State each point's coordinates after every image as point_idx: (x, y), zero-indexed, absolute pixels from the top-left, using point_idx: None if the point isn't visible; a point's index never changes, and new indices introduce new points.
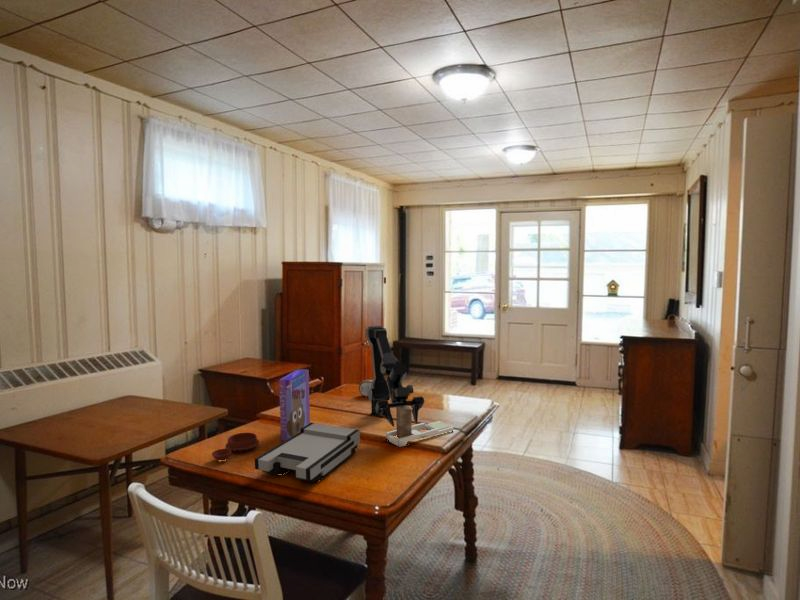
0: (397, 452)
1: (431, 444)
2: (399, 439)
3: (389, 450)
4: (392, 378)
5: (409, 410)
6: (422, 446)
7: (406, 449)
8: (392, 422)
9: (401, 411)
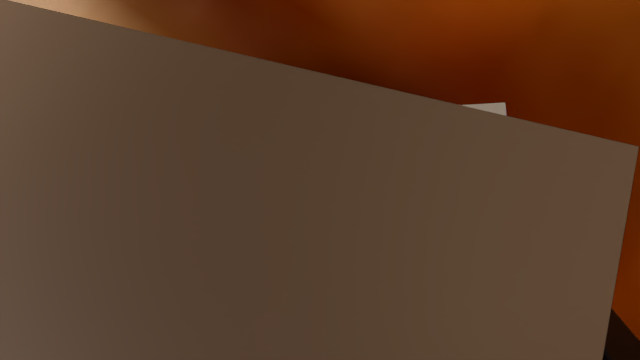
0: (567, 29)
1: (93, 9)
2: (502, 110)
3: (624, 129)
4: None
5: (91, 43)
6: (218, 17)
7: (429, 45)
8: (631, 343)
9: (521, 145)
